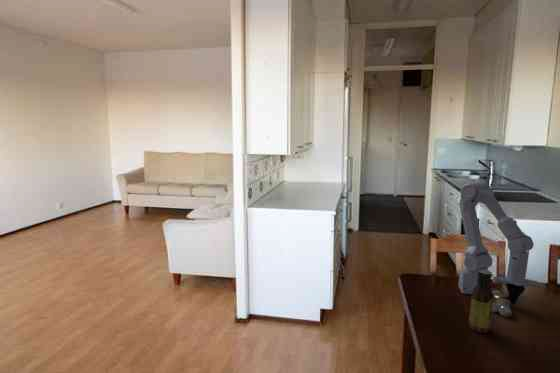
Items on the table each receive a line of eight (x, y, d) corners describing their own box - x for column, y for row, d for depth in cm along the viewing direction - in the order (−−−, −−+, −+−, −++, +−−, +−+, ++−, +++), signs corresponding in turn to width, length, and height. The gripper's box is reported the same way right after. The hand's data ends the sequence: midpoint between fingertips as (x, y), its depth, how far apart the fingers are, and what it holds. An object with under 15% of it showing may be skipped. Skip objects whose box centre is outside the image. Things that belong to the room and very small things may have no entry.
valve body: (493, 315, 134) (495, 304, 133) (482, 297, 148) (483, 287, 147) (511, 318, 133) (512, 306, 132) (497, 299, 147) (499, 288, 146)
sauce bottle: (492, 335, 122) (500, 277, 119) (471, 332, 124) (478, 275, 120) (485, 324, 129) (492, 269, 125) (465, 322, 130) (472, 267, 126)
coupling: (495, 307, 140) (495, 296, 140) (491, 303, 144) (492, 292, 144) (510, 308, 139) (510, 298, 139) (506, 304, 143) (506, 294, 143)
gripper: (498, 270, 136) (494, 305, 138) (544, 274, 132) (538, 310, 135) (492, 263, 142) (488, 296, 145) (536, 267, 139) (530, 301, 142)
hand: (512, 302), depth 140 cm, fingers closed
